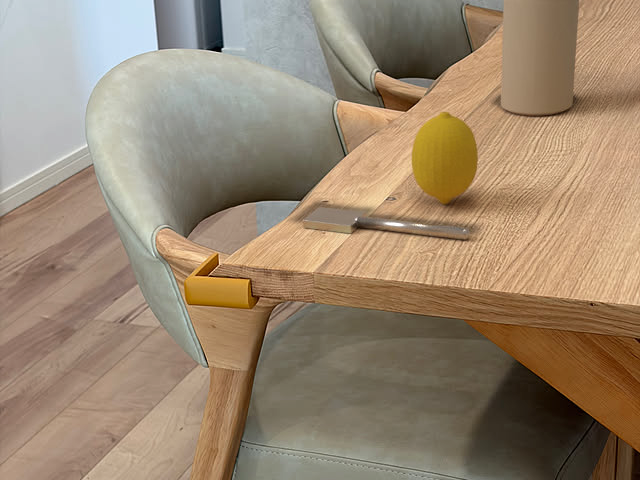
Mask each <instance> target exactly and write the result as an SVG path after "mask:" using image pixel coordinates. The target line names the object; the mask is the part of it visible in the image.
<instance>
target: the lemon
mask: <svg viewBox="0 0 640 480" xmlns="http://www.w3.org/2000/svg"><path fill="white" fill-rule="evenodd" d="M411 150H412V151H411V167H412V173H413V177H414V180H415V182H416V184H417V185H418V187H419V188H420V189H421V190H422V191H423V192H424V193H425V194H427V195H428V196H430V197H432V198H435V199H436V200H437V201H438V202H439V203H441V204H444V205H446V204H449V203H450V202H451V201H452V200H453V199H454V198H456V197H458V196H460V195H462V194H463V193H465V192H466V191H468V189H469V187H470V186H471V184H472V183H473V182H474V179H475V178H476V174H477V171H478V161H479V158H478V156H479V153H478V145H477V140H476V138H475V135H474V133H473V130H472V128H471V127H469V125H468V124H467V123H466V122H465V121H464V120H462V119H461V118H459V117H457V116H454V115H452V114H451V113H450V112H448V111H441V112H440V113H439V114H438V115H437V116H433V117H432V118H430V119H429V120H427V121H425V122H424V123H423V125H421V127H419V129H418V131H417V133H416V135H415V138H414V140H413V144H412V149H411Z"/></svg>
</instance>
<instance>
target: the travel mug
mask: <svg viewBox="0 0 640 480" xmlns="http://www.w3.org/2000/svg"><path fill="white" fill-rule="evenodd" d="M579 10H580V0H503V11H502V12H503V13H502V41H501V42H502V44H501V45H502V46H501V47H502V48H501V78H500V79H501V80H500V81H501V83H500V107H501V108H502V109H504V110H505V111H508V112H510V113H512V114H516V115H521V116H529V117H530V116H532V117H534V116H536V117H537V116H538V117H539V116H552V115H556V114H560V113H563V112H565V111H566V110H569V109H570V108H571V107H573V104H574V103H573V102H574V89H575V88H574V87H575V86H574V85H575V71H576V70H575V69H576V57H577V42H578V41H577V40H578V25H579V12H580V11H579Z"/></svg>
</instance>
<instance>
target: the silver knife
mask: <svg viewBox="0 0 640 480" xmlns="http://www.w3.org/2000/svg"><path fill="white" fill-rule="evenodd" d="M302 228H303V229H309V230H317V231H318V230H320V231H327V232H335V233H336V232H337V233H343V234H353V233H354V232H355V231H356V230H357V229H358V228H364V229H371V230H379V231H387V232H388V231H389V232H397V233H404V234H413V235H422V236H429V237H439V238H447V239H454V240H463V241H464V240H465V241H466V240H468V239H469V238H470V236H471V232H470V230H469V229H468V228H465V227H458V226H451V225H441V224H433V223H425V222H424V223H423V222H413V221H405V220H398V219H397V220H396V219H388V218H379V217H372V216H371V217H370V216H367V212H366V211H360V210H359V211H358V210H352V209H351V210H350V209H341V208H332V207H323V206H319V207H317V208H315V210H313V211H312V212H311V213H309V215H307V216H306V217H305V218H303V219H302Z"/></svg>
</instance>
